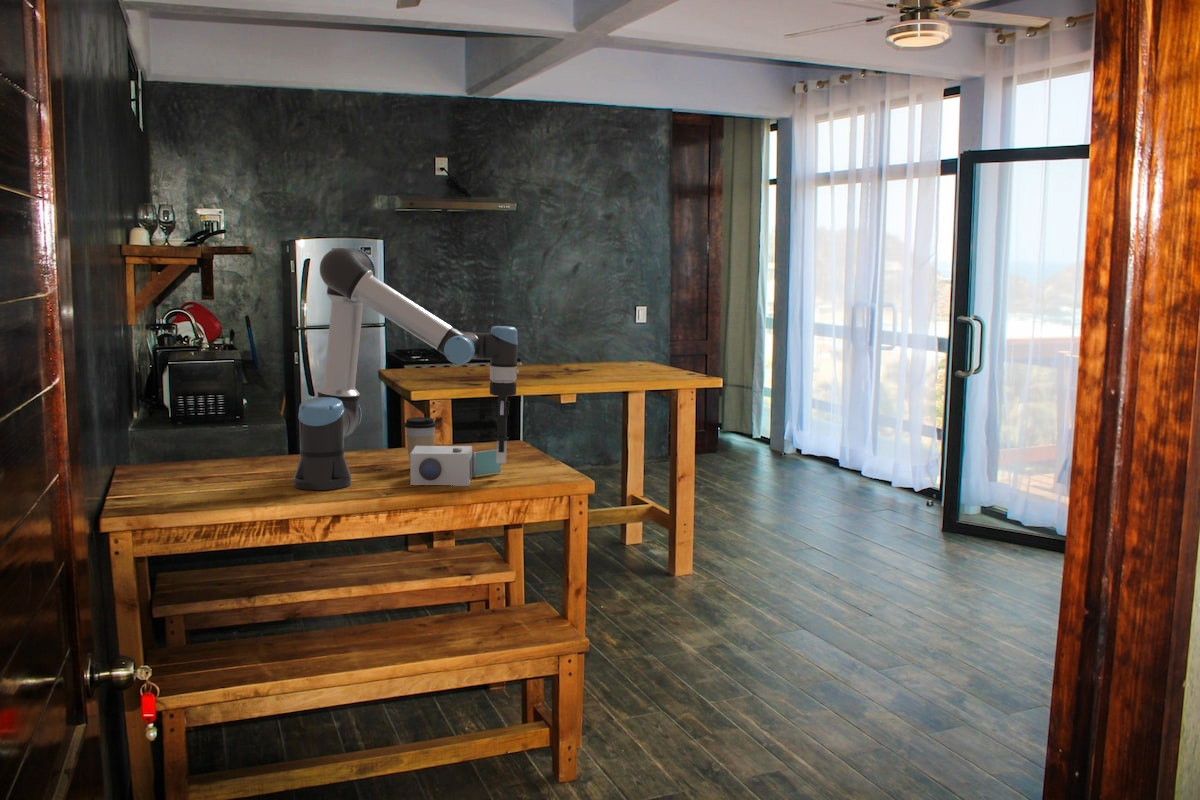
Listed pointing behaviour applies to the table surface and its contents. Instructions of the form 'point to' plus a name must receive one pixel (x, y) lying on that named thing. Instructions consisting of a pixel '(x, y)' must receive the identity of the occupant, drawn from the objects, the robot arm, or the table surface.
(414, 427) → the coffee cup
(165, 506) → the table surface
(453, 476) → the cabinet body
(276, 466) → the table surface
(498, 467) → the side door
